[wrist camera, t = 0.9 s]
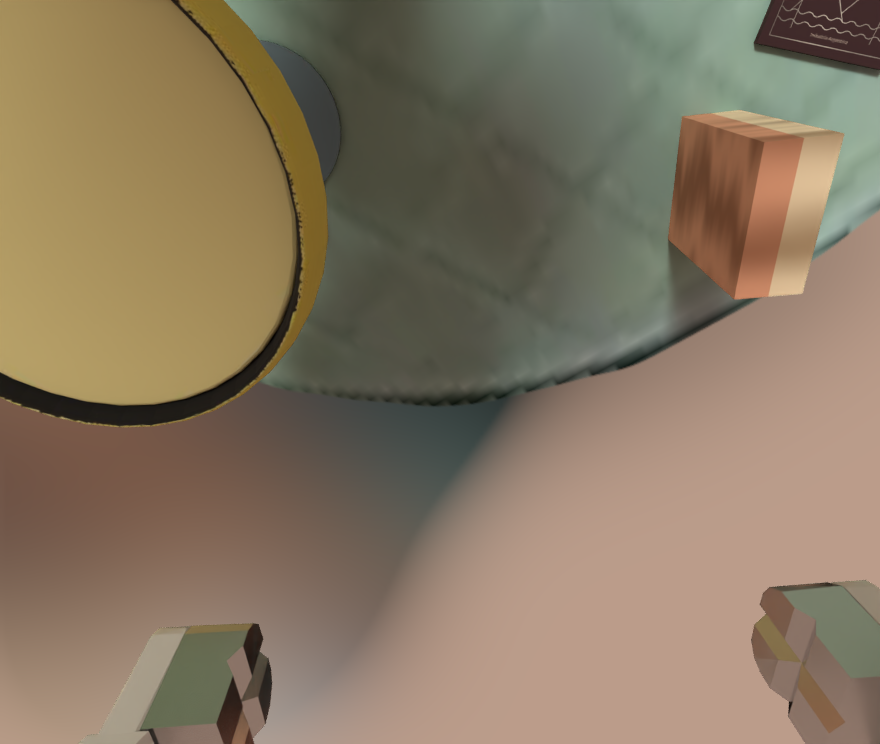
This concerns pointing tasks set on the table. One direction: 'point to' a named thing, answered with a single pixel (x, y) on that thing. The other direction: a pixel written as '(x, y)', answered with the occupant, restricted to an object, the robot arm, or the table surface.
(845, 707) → the robot arm
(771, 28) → the chocolate bar
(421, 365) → the table surface
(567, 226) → the table surface
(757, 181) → the tan wooden block
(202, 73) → the cocktail glass
